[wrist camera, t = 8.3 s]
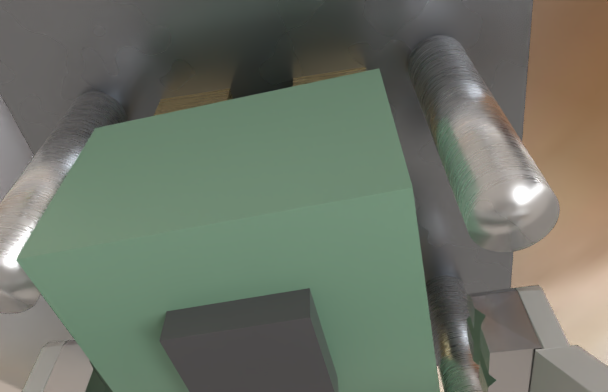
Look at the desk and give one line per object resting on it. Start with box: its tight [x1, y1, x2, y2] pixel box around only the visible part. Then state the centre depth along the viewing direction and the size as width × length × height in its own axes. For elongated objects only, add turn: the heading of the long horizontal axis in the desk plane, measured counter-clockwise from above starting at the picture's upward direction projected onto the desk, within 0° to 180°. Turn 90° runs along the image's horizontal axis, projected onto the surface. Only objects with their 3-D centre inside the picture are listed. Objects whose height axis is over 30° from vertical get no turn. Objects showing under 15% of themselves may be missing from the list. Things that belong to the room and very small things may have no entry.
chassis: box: [0, 0, 560, 392], centre depth 14 cm, size 16×13×7 cm
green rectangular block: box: [16, 68, 440, 392], centre depth 12 cm, size 10×6×5 cm, turn 13°
